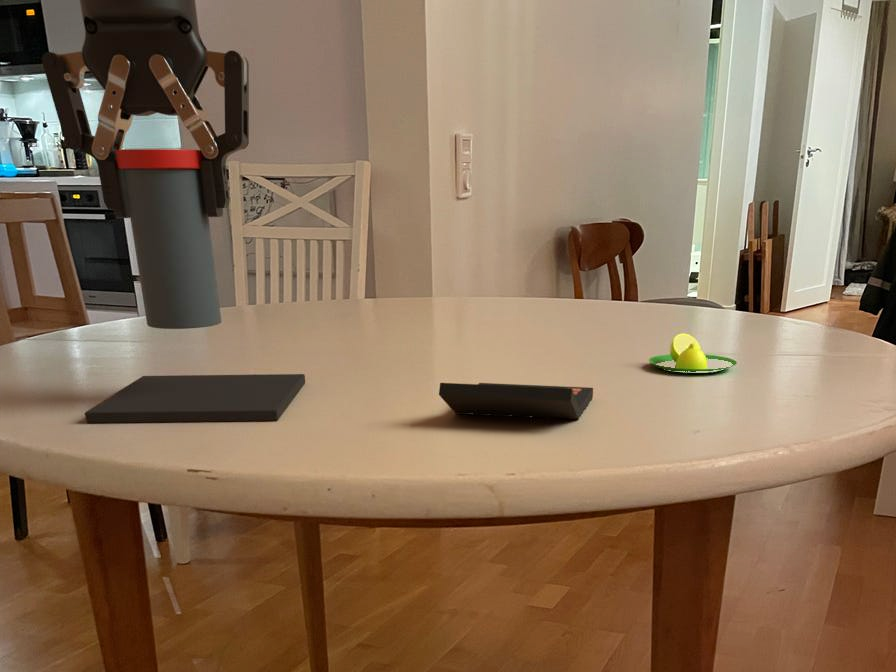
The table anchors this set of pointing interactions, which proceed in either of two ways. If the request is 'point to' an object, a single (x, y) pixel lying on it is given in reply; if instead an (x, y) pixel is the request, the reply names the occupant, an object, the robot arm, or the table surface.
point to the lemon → (687, 356)
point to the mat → (200, 399)
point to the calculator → (516, 399)
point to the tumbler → (171, 236)
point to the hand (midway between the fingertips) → (169, 216)
